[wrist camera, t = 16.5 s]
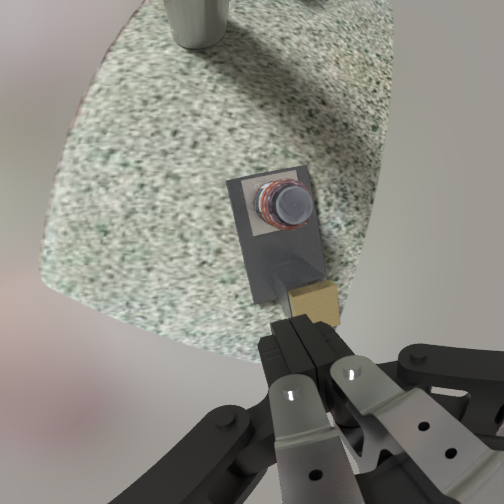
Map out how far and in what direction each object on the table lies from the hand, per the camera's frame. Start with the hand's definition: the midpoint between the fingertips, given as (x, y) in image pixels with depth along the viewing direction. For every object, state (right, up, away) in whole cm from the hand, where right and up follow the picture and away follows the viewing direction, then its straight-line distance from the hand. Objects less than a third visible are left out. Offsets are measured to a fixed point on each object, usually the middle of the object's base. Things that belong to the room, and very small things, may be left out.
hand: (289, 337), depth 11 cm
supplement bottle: (+2, +10, +27) cm, 29 cm away
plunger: (+4, -1, +29) cm, 30 cm away
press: (+2, +6, +31) cm, 32 cm away
